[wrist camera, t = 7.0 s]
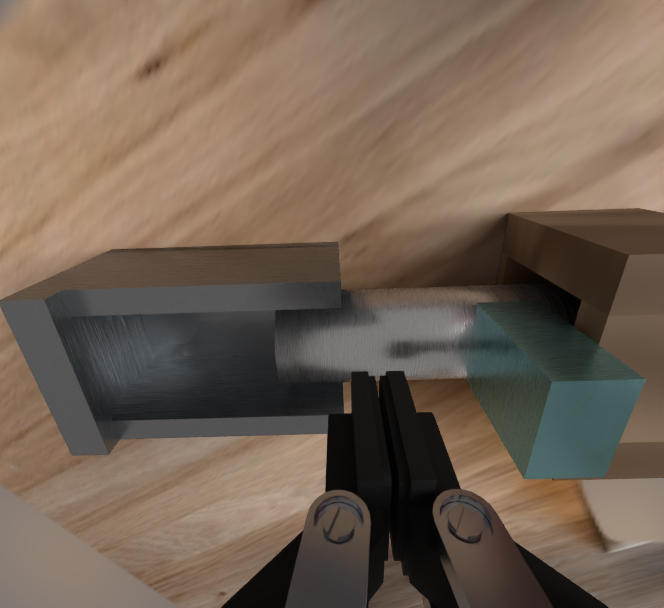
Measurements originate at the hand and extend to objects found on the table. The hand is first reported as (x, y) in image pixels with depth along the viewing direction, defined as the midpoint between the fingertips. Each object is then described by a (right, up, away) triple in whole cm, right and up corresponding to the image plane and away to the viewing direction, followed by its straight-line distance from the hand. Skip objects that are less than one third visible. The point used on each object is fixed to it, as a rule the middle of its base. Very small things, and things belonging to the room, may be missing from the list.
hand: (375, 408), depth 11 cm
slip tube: (+4, +3, +6) cm, 8 cm away
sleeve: (-7, +3, +7) cm, 10 cm away
